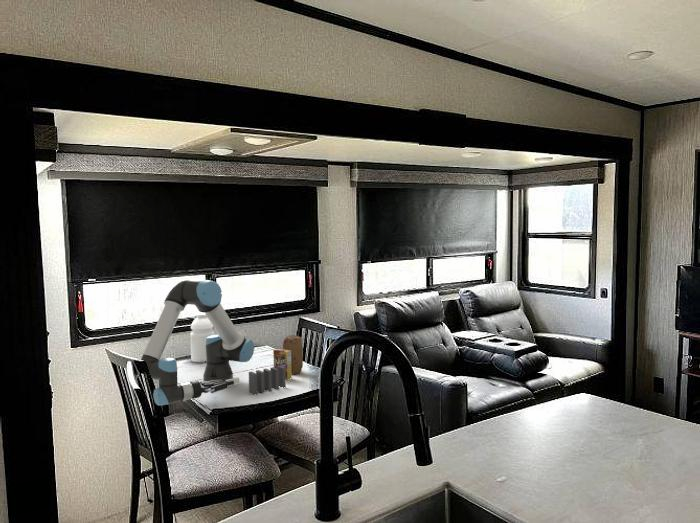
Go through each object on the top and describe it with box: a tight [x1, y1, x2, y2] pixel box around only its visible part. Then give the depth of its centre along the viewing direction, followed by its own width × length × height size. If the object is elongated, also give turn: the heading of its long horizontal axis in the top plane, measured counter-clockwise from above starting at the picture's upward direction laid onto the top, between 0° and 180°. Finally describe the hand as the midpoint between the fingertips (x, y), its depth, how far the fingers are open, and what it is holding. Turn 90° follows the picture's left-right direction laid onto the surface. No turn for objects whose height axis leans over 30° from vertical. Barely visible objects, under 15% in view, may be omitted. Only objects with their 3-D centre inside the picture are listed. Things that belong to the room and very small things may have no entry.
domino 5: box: [277, 366, 287, 389], centre depth 271 cm, size 5×2×10 cm, turn 39°
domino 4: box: [269, 366, 280, 390], centre depth 268 cm, size 5×2×10 cm, turn 39°
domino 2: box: [255, 369, 266, 394], centre depth 263 cm, size 5×2×10 cm, turn 39°
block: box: [282, 334, 304, 375], centre depth 295 cm, size 11×8×20 cm
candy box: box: [272, 348, 293, 381], centre depth 285 cm, size 9×4×15 cm, turn 61°
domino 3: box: [262, 368, 273, 392], centre depth 266 cm, size 5×2×10 cm, turn 39°
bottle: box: [189, 312, 215, 363], centre depth 324 cm, size 14×14×28 cm
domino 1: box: [248, 371, 258, 396], centre depth 261 cm, size 5×2×10 cm, turn 39°
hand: (238, 380), depth 256 cm, fingers closed
